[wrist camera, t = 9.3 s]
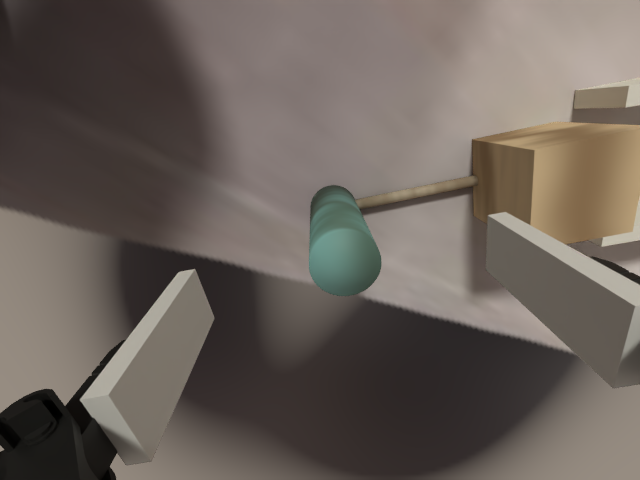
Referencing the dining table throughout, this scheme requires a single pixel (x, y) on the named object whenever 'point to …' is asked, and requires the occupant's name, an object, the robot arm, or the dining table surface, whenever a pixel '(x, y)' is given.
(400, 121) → the dining table surface
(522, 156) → the corded oak block
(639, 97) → the rail lane
